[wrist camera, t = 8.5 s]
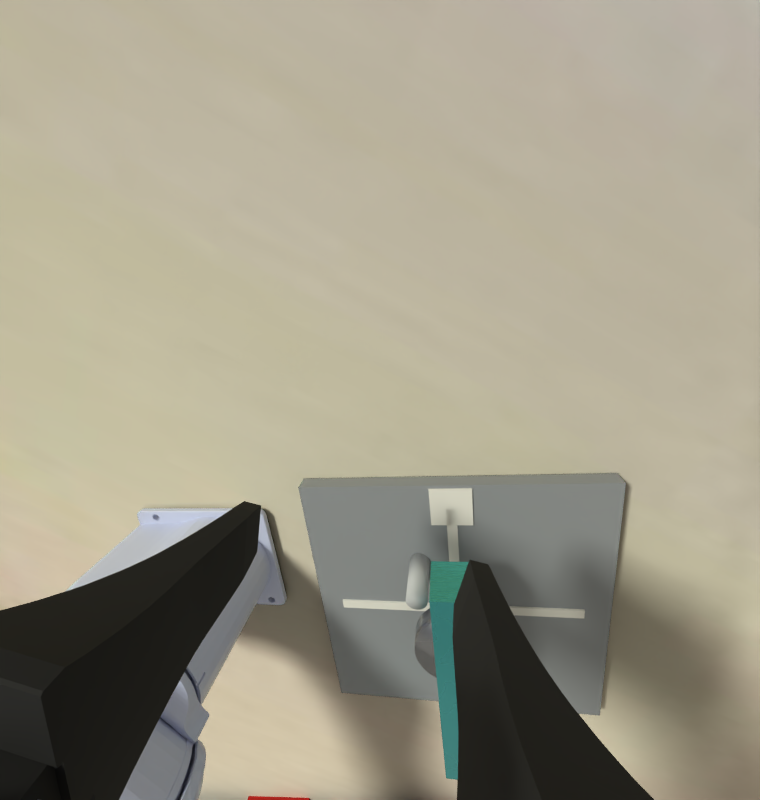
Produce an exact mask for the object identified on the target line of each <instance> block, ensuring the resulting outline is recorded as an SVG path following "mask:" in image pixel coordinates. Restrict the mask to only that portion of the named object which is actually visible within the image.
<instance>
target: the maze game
mask: <svg viewBox="0 0 760 800" xmlns="http://www.w3.org/2000/svg"><path fill="white" fill-rule="evenodd" d="M248 800H310V799H309V798H292V797H257V796H249V797H248Z"/></svg>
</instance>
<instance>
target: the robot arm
mask: <svg viewBox="0 0 760 800" xmlns="http://www.w3.org/2000/svg"><path fill="white" fill-rule="evenodd" d="M137 516H138V520H139V522H140V525H139V526H138V527H137V528H136V529H135V530H134V531H132V532H131V533H130V534H129V535H128V536H127V537H126V538H124V539H123V540H122V541H121V542H120V543H119V544H118V545H116V546H115V547H114V548H113V549H112V550H111V551H110V552H109V553H107V554H106V555H105V556H104V557H103V558H102V559H101V560H99V561H98V562H97V563H96V564H95V565H94V566H93V567H91V568H90V569H89V570H88V571H87V572H86V573H85V574H83V575H82V576H81V577H80V578H79V579H78V580H77V581H76V582H74V583H73V584H72V585H71V586H70V587H69V588H68V589H67V590H66V591H65V592H63V593H60V594H56V595H53V596H50V597H47V598H44V599H41V600H37V601H34V602H31V603H27V604H23V605H19V606H16V607H12V608H8V609H5V610H1V611H0V800H198V798H199V795H200V791H201V787H202V783H203V775H204V768H205V760H206V751H205V747H204V745H203V743H202V742H201V741H199V740H198V737H199V735H200V733H201V731H202V729H203V727H204V725H205V723H206V721H207V719H208V717H209V713H208V712H207V711H206V710H205V709H204V708H203V707H202V706H201V705H202V703H203V701H204V699H205V698H206V696H207V694H208V692H209V690H210V688H211V687H212V685H213V683H214V681H215V679H216V677H217V675H218V674H219V672H220V670H221V668H222V666H223V664H224V662H225V661H226V659H227V657H228V655H229V653H230V651H231V650H232V648H233V646H234V644H235V642H236V640H237V638H238V637H239V635H240V633H241V631H242V629H243V627H244V626H245V624H246V622H247V620H248V618H249V616H250V614H251V613H252V611H253V609H254V607H255V605H256V604H266V605H283V604H284V603H285V601H286V599H287V596H286V592H285V588H284V584H283V580H282V576H281V572H280V568H279V564H278V560H277V556H276V551H275V547H274V543H273V539H272V535H271V531H270V527H269V523H268V519H267V515H266V513H265V511H264V510H262V509H261V506H260V505H256V504H253V503H249V502H245V501H244V502H242V503H241V504H239V505H237V506H236V507H234V508H144V509H142V510H141V511H139V512H138V514H137ZM272 597H273V598H272ZM452 638H453V654H454V669H455V683H456V698H457V712H458V788H457V800H654V799H653V798H652V797H651V796H650V795H649V794H648V793H647V792H646V791H645V790H644V789H643V788H642V787H641V786H640V785H639V784H638V783H637V782H636V781H635V780H634V778H633V777H632V776H631V775H630V774H629V773H628V772H627V771H626V770H625V769H624V767H623V766H622V765H621V764H620V763H619V762H618V761H617V760H616V758H615V757H614V756H613V755H612V754H611V753H610V752H609V751H608V749H607V748H606V747H605V746H604V745H603V744H602V742H601V741H600V740H599V739H598V738H597V736H596V735H595V734H594V733H593V732H592V730H591V729H590V728H589V727H588V725H587V724H586V723H585V722H584V720H583V719H582V718H581V717H580V715H579V714H578V713H577V712H576V710H575V709H574V708H573V706H572V705H571V704H570V702H569V701H568V700H567V698H566V697H565V696H564V694H563V693H562V692H561V690H560V689H559V687H558V686H557V685H556V683H555V682H554V680H553V679H552V677H551V676H550V675H549V673H548V672H547V670H546V669H545V667H544V666H543V664H542V662H541V661H540V659H539V658H538V656H537V654H536V653H535V651H534V650H533V648H532V646H531V645H530V643H529V641H528V640H527V638H526V636H525V634H524V633H523V631H522V629H521V627H520V625H519V624H518V622H517V620H516V618H515V616H514V615H513V613H512V611H511V609H510V607H509V605H508V603H507V601H506V599H505V597H504V595H503V593H502V591H501V589H500V587H499V585H498V583H497V581H496V579H495V577H494V575H493V572H492V570H491V568H490V567H489V565H488V564H485V563H481V562H477V561H474V560H469V562H468V565H467V568H466V571H465V574H464V577H463V580H462V583H461V585H460V588H459V591H458V594H457V597H456V600H455V603H454V611H453V636H452Z"/></svg>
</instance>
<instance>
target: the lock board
mask: <svg viewBox="0 0 760 800" xmlns="http://www.w3.org/2000/svg"><path fill="white" fill-rule="evenodd" d="M625 487H626V483H625V481H624V480H623V479H622V478H621V476H620V475H619V474H618V473H599V474H541V475H484V476H426V477H368V478H311V479H303V481H302V483H301V484H300V486H299V487H298V488H299V493H300V497H301V502H302V507H303V512H304V516H305V521H306V526H307V531H308V535H309V540H310V545H311V550H312V554H313V559H314V564H315V569H316V573H317V578H318V583H319V587H320V592H321V597H322V602H323V606H324V611H325V616H326V621H327V625H328V630H329V635H330V640H331V644H332V649H333V654H334V659H335V663H336V668H337V673H338V678H339V682H340V687H341V692H342V693H351V694H363V695H374V696H385V697H397V698H408V699H419V700H431V701H439V697H438V687H437V678H436V677H434V676H432V675H431V674H429V673H428V672H427V671H426V670H425V669H424V668H423V667H422V666H421V665H420V663H419V662H418V660H417V658H416V655H415V634H416V625H417V622H418V619H419V618H420V616H421V615H422V614H423V613H424V612H425V611H426V610H428V609H429V608H430V603H429V597H430V573H431V561H450V562H469V560H474V561H477V562H481V563H485V564H488V565H489V567H490V568H491V570H492V572H493V575H494V577H495V579H496V581H497V583H498V585H499V587H500V589H501V591H502V593H503V595H504V597H505V599H506V601H507V603H508V605H509V607H510V609H511V611H512V613H513V615H514V616H515V618H516V620H517V622H518V624H519V625H520V627H521V629H522V631H523V633H524V634H525V636H526V638H527V640H528V641H529V643H530V645H531V646H532V648H533V650H534V651H535V653H536V654H537V656H538V658H539V659H540V661H541V662H542V664H543V666H544V667H545V669H546V670H547V672H548V673H549V675H550V676H551V677H552V679H553V680H554V682H555V683H556V685H557V686H558V687H559V689H560V690H561V692H562V693H563V694H564V696H565V697H566V698H567V700H568V701H569V702H570V704H571V705H572V706H573V708H574V709H575V710H576V712H577V713H578V714H589V715H600V709H601V700H602V691H603V682H604V673H605V664H606V656H607V647H608V638H609V629H610V620H611V611H612V602H613V593H614V585H615V576H616V567H617V558H618V549H619V540H620V531H621V522H622V513H623V505H624V496H625Z"/></svg>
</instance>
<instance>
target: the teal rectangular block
mask: <svg viewBox="0 0 760 800" xmlns="http://www.w3.org/2000/svg"><path fill="white" fill-rule="evenodd" d="M467 565H468V562H450V561H431V573H430V597H429V603H430V608H429V609H428V610H426V611H425V612H424V613H423V614H422V615H421V616H420V618H419V619H418V622H417V625H416V634H415V655H416V658H417V660H418V662H419V663H420V665H421V666H422V667H423V668H424V669H425V670H426V671H427V672H428V673H429V674H431V675H432V676H434V677H436V678H437V687H438V697H439V708H440V718H441V729H442V739H443V749H444V760H445V770H446V778H448V779H457V780H458V712H457V698H456V683H455V669H454V654H453V638H452V636H453V611H454V603H455V600H456V597H457V594H458V591H459V588H460V585H461V583H462V580H463V577H464V574H465V571H466V568H467Z"/></svg>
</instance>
